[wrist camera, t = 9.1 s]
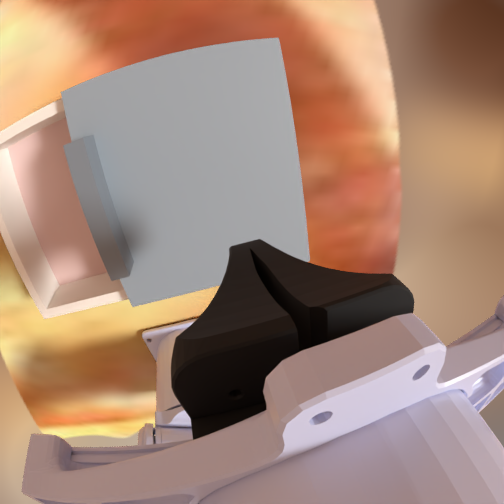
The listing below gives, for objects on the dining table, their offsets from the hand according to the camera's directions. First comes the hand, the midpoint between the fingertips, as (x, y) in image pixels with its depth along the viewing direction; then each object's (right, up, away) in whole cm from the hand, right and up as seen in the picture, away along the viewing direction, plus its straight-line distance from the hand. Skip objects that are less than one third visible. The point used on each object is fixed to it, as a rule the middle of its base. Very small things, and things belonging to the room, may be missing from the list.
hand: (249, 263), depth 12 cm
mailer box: (-12, +4, +7) cm, 15 cm away
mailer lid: (-3, +5, +4) cm, 7 cm away
